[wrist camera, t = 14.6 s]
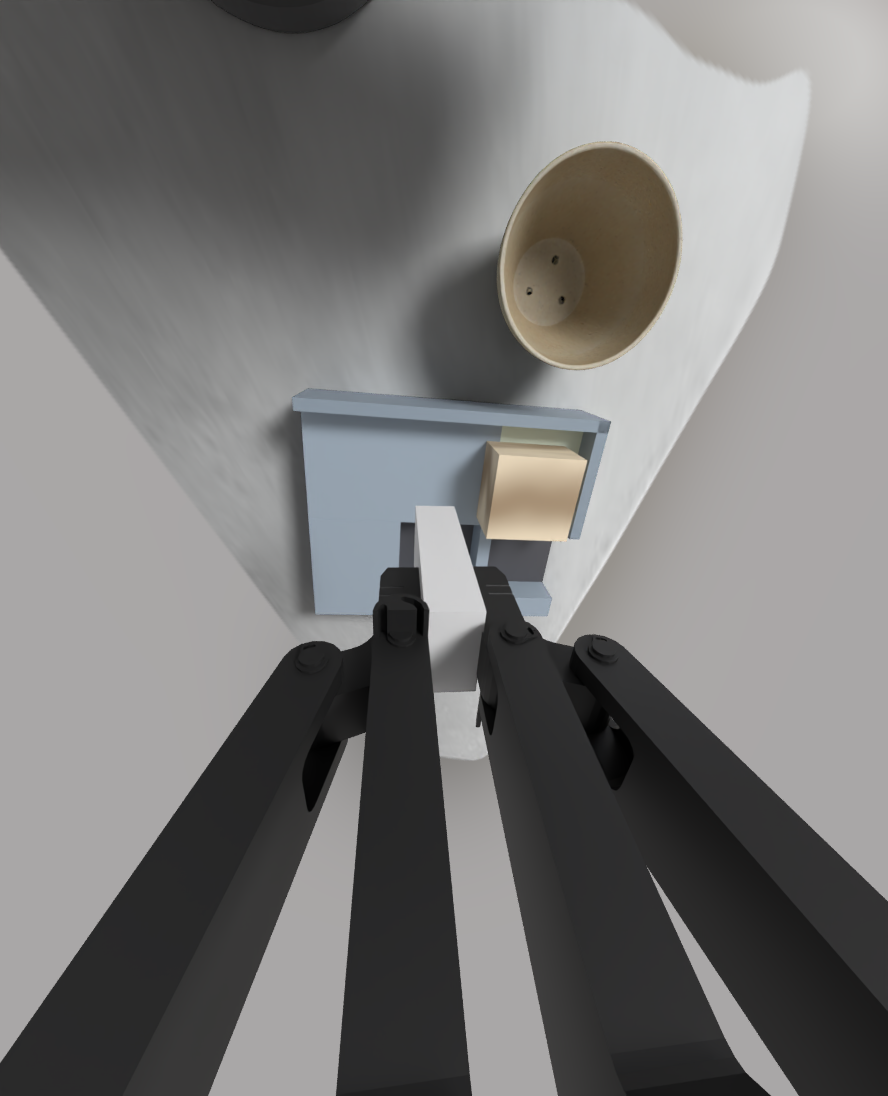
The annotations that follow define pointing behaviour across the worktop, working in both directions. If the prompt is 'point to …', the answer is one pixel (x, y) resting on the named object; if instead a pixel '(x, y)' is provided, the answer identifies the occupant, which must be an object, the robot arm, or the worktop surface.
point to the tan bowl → (590, 256)
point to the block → (529, 491)
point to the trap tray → (420, 485)
